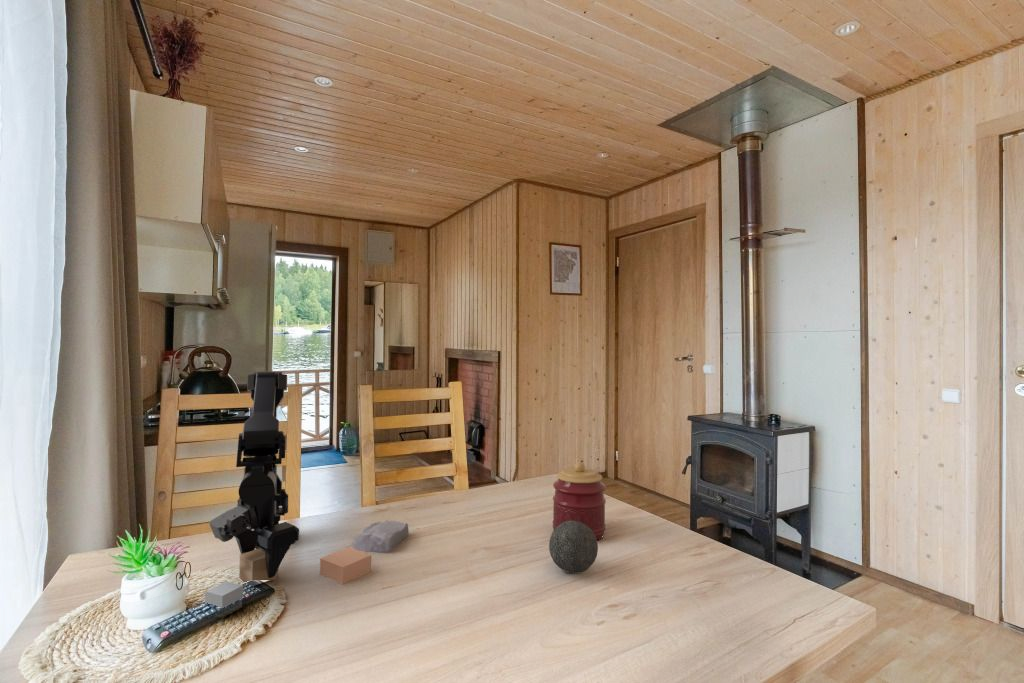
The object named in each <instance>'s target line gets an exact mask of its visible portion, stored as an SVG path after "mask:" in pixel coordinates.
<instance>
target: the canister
mask: <svg viewBox="0 0 1024 683" xmlns="http://www.w3.org/2000/svg"><path fill="white" fill-rule="evenodd" d="M585 466H586V465H585V464H584V462H582V461H577V462H575V463H574V465H573V467H565V468H563V469H562V470H561V471H559V472H558V473H556V477H557V480H555V481H554V482H553V484H552V486H553V488H554V495H553V497H552V500H553V511H552V512H553V520H552V528H553V530H552V531H554V530H555V528H556V527H557V526H559V525H560V524H562V523H564V522H566V521H578V522H581V523H583V524H585V525H587V526H588V527H589V528H590V529H591V530H592V531H593V533H594V534H595V537H596V539H599V538H601V537H602V536H603V535H604V536H605V531H606V517H605V516H606V503H607V501H606V498H605V497H604V496H605V495H604V492H605V490H606V484H604V483H603V482H602V480H603V475H601V474H600V473H599V472H597V470H595V469H593V468H588V467H585ZM604 536H603V537H604ZM603 537H602V538H603ZM602 538H601V539H602ZM599 540H600V539H599Z"/></svg>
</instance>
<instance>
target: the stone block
mask: <svg viewBox="0 0 1024 683" xmlns="http://www.w3.org/2000/svg"><path fill="white" fill-rule="evenodd" d="M409 532H410V531H409V524H408V523H407V522H400V521H397V520H387V519H386V520H383V521H378V522H374V523H371V524H370V525H368V526H367V527H365V528H364V529H363V530H362V531H361V532H360V533H359V534H357V535H355V536H354V538H353V541H352V542H353V543H352V544H353V547H354V549H356V550H359V551H362V552H365V553H368V552H369V553H380V554H381V553H383V554H384V553H385V554H388V553H390V552H392V550H394V549H395V548H396V547H397V546H398V545H399V544H400V543H401V542H402V541H403V540H404V539H406V538H405V537H407V536H408V535H409Z"/></svg>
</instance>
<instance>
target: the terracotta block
mask: <svg viewBox="0 0 1024 683" xmlns="http://www.w3.org/2000/svg"><path fill="white" fill-rule="evenodd" d="M371 571H372V554H370V553H368V552H363V551H359V550H356V549H355V547H354V548H353V547H351V546H348V547H345V548H342V549H340V550H338V551H336V552H333V553H330V554H328V555H325V556H323V557H321V558H319V575H321V576H323V577H324V578H326V579H329V580H331V581H334V582H336V583H339V584H341V585H343V584H345V583H348V582H350V581H352V580H354V579H357V578H359V577H361V576H363V575H366V574H367V573H369V572H371Z"/></svg>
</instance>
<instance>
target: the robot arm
mask: <svg viewBox="0 0 1024 683" xmlns="http://www.w3.org/2000/svg"><path fill="white" fill-rule="evenodd" d="M246 382H247V385H246V386H247V387H246V389H247V390H246V391H247V392H250V398H251V400H252V402H253V403H252V412H251V416H250V417H249V418H248V419H247V420H245V421H244V423H243V429H242V432H241V433H239V434H238V440H237V442H238V443H237V453H236V454H237V455H236V463H235V464H236V465H235V467H236V468H241V467H242V468H243V467H244V468H243V471H244V472H243V477H242V479H241V482H240V485H239V487H238V496H239V497H238V499H237V505H236V506H235V507H233V508H231V509H228V510H226V511H225V512H222V513H221V514H220V515H217V516H216V517H214V518H213V519H211V520H210V521H209V523H208V524H209V526H210V529H211V531H212V534H213V536H214V538H215V539H218V540H220V541H221V542H224V543H226V542H229V541H231V540H232V539H234V538H235V540H236V543H237V547H238V550H239V552H240V554H244V553H247V552H250V551H253V550H256V549H261V550H262V551H264V552H265V558H266V568H267V575H268V578H271V577H274V576H275V574H276V572H277V570H278V571H279V568H280V566H281V563H282V562H283V560H284V558H285V556H286V554H287V553H288V551H289V549H290V548H291V546H292V544H295V543H296V542H298V541H299V540H300V528H299V527H297V526H296V525H294V524H291V523H289V522H287V521H285V522H284V521H283V522H280V521H281V516H285V514H288V512H289V494H288V493H287V491H286V488H283V481H282V479H281V478H280V476H279V475H278V473H277V472H278V471H277V468H278V466H277V465H282V461H283V459H285V458H286V446H287V445H286V442H287V440H286V439H287V438H286V436H285V435H284V433H285V432H284V431H283V430H281V431H280V421H279V419H278V417H277V416H278V415H277V412H278V411H277V410H278V408H279V406H280V405H281V404H282V402H283V400H284V398H285V391H288V374H285V373H283V372H282V371H254V372H253V373H252V374H247V381H246ZM277 455H278V457H277ZM242 456H243V457H242Z"/></svg>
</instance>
